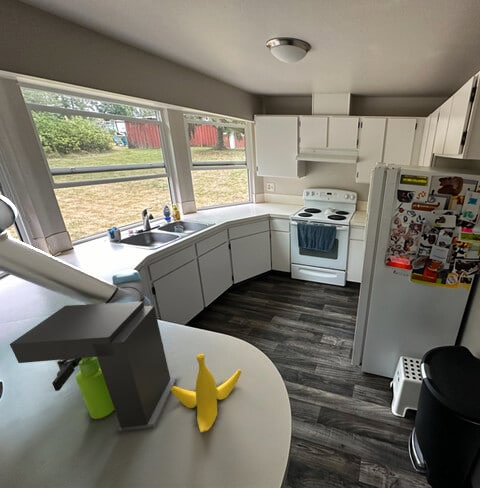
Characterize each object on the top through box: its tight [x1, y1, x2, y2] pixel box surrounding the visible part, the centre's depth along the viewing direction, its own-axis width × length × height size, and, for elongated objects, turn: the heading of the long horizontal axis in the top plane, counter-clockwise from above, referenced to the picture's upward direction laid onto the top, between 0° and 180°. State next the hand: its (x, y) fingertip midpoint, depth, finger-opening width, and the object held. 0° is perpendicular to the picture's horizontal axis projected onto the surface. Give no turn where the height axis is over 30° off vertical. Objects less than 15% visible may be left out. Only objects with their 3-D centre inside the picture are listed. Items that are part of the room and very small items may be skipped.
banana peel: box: [171, 353, 242, 433], centre depth 65 cm, size 17×19×17 cm
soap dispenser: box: [75, 357, 115, 420], centre depth 64 cm, size 6×7×20 cm
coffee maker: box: [9, 302, 177, 432], centre depth 64 cm, size 22×14×28 cm, turn 99°
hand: (90, 380), depth 63 cm, fingers open, 13 cm apart
